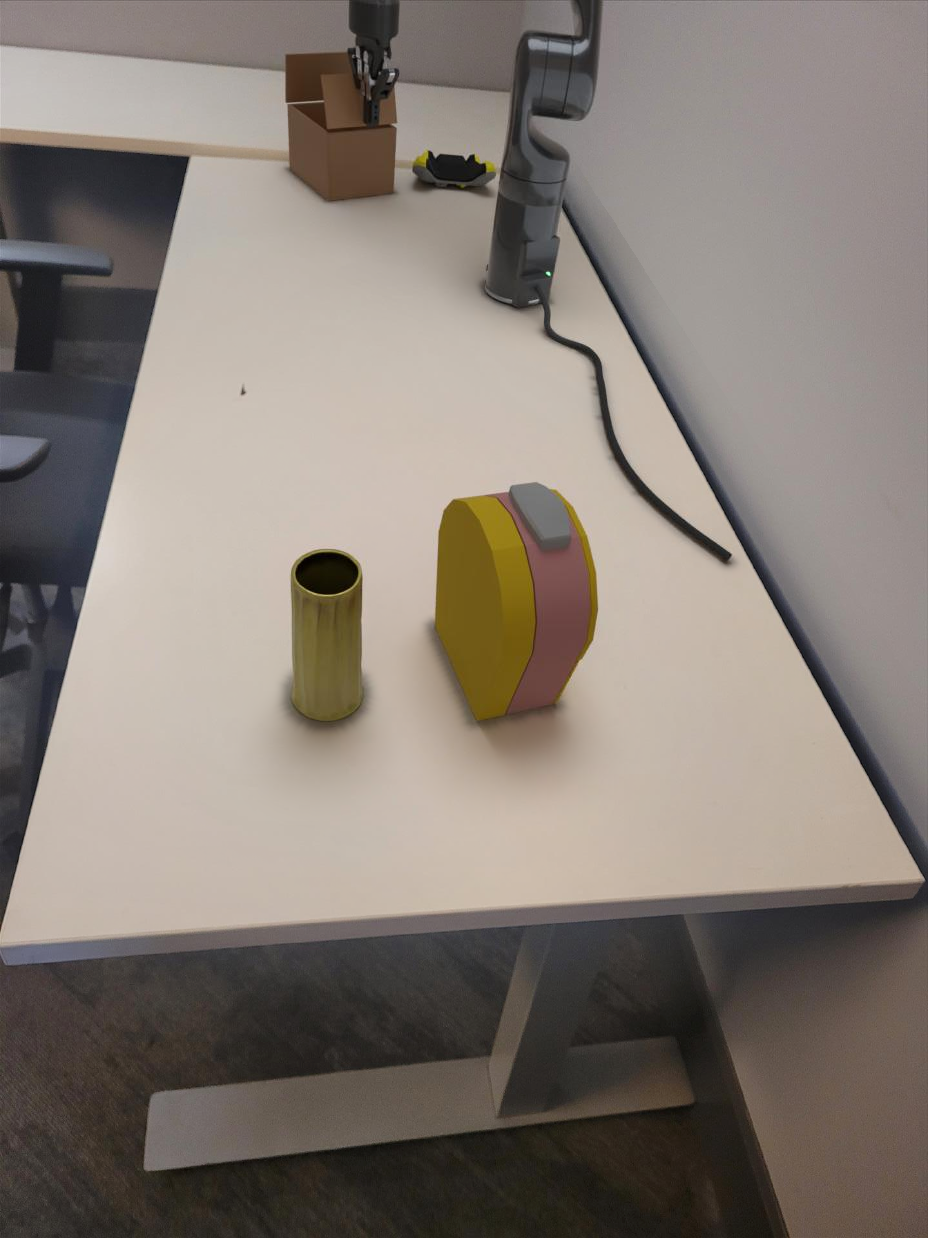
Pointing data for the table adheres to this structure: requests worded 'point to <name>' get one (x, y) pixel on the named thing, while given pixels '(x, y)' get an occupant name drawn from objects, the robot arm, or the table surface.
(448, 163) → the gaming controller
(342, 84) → the box flap
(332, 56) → the cardboard box
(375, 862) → the table surface
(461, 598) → the tape measure
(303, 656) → the vase
